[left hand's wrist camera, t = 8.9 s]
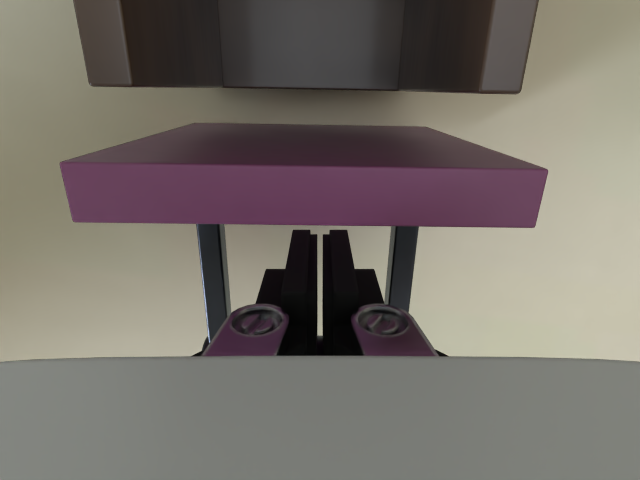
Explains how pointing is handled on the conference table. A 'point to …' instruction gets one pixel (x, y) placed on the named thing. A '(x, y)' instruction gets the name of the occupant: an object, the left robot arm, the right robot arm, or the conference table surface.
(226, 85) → the drawer
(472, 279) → the conference table surface
